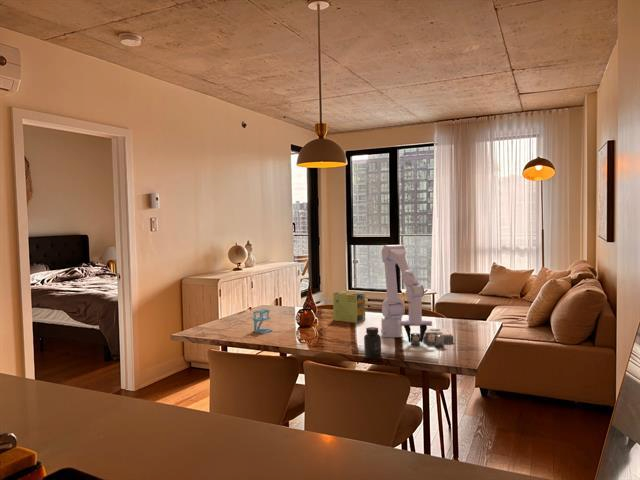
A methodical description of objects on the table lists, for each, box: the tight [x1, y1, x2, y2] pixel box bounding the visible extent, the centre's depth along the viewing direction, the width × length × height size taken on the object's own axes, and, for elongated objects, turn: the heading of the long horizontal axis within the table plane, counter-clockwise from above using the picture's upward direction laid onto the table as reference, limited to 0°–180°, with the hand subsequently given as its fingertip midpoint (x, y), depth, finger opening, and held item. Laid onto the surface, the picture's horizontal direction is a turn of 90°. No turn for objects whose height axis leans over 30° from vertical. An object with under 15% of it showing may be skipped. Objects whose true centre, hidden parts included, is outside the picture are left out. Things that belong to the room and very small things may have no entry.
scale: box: [422, 328, 454, 345], centre depth 226 cm, size 13×15×5 cm
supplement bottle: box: [363, 326, 382, 360], centre depth 199 cm, size 7×7×12 cm
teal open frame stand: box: [252, 308, 273, 335], centre depth 250 cm, size 8×8×12 cm
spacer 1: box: [410, 332, 421, 347], centre depth 218 cm, size 4×4×5 cm
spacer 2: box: [434, 334, 445, 349], centre depth 214 cm, size 4×4×5 cm
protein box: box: [332, 290, 366, 324], centre depth 276 cm, size 10×15×16 cm
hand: (415, 341), depth 218 cm, fingers open, 4 cm apart
